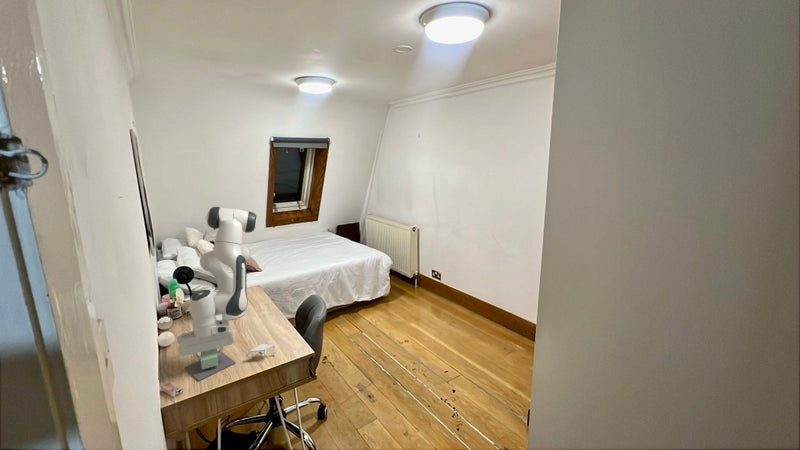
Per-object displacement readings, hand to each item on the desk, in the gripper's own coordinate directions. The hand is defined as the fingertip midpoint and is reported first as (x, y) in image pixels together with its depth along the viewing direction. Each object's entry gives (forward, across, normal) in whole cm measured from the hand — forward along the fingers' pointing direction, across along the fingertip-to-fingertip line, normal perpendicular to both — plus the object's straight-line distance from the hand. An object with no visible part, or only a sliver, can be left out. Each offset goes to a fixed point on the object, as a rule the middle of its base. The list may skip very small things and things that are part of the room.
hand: (209, 358), depth 145 cm
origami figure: (+4, +20, -4) cm, 21 cm away
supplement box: (+4, +3, +20) cm, 20 cm away
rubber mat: (+4, 0, 0) cm, 4 cm away
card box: (+2, 0, 0) cm, 2 cm away
